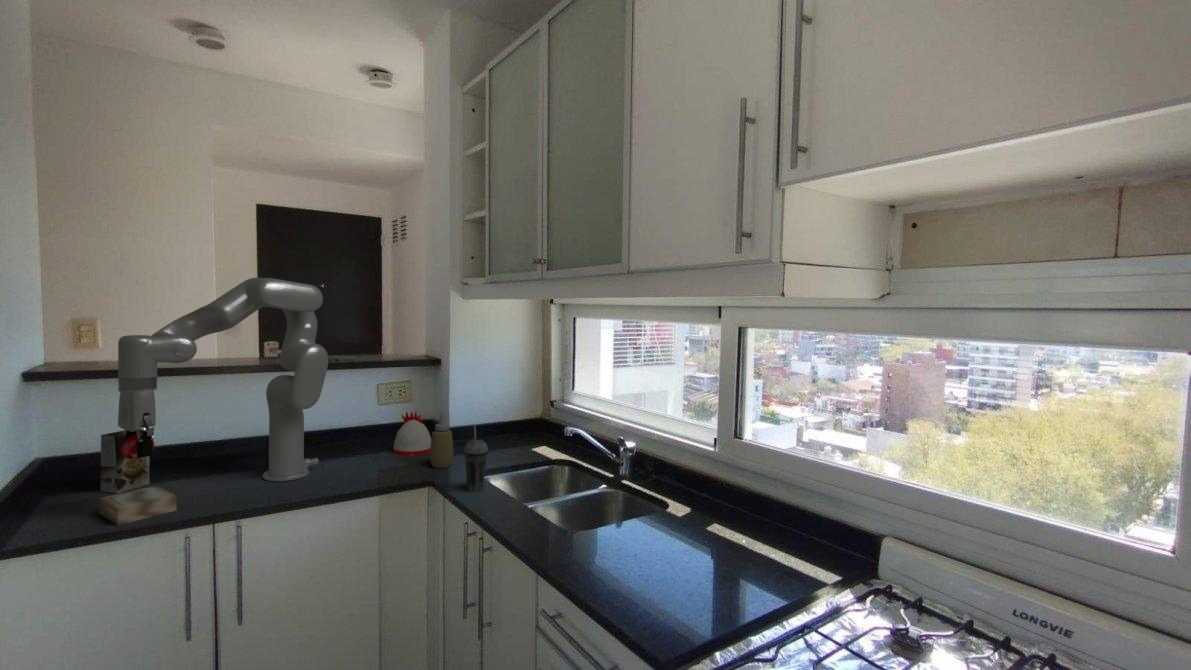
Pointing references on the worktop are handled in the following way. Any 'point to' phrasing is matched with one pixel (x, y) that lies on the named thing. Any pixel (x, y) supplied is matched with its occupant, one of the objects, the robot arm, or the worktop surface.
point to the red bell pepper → (131, 446)
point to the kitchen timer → (412, 437)
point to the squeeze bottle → (441, 445)
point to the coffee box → (121, 466)
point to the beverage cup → (475, 463)
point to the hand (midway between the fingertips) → (138, 453)
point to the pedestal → (137, 505)
